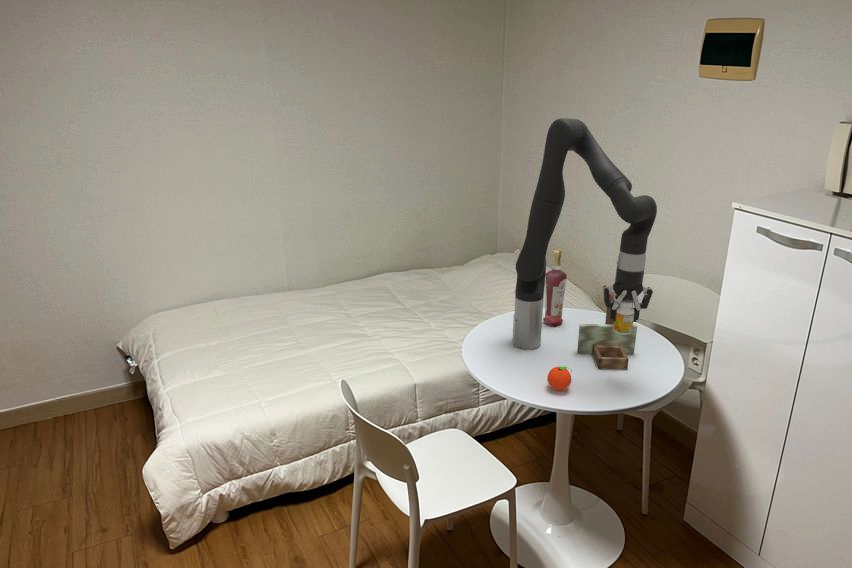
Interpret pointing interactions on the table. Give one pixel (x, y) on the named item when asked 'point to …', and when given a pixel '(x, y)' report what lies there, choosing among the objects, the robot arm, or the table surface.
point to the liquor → (555, 291)
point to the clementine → (559, 378)
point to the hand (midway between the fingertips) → (623, 320)
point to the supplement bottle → (624, 318)
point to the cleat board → (606, 345)
